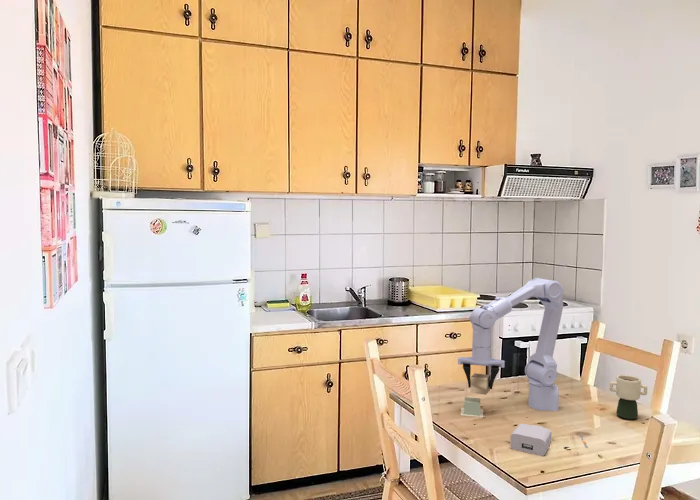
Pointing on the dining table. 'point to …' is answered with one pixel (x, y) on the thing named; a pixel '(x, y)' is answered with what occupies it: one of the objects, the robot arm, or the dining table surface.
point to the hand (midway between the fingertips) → (480, 387)
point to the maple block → (480, 383)
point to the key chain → (583, 442)
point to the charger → (531, 439)
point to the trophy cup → (628, 395)
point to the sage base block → (472, 406)
